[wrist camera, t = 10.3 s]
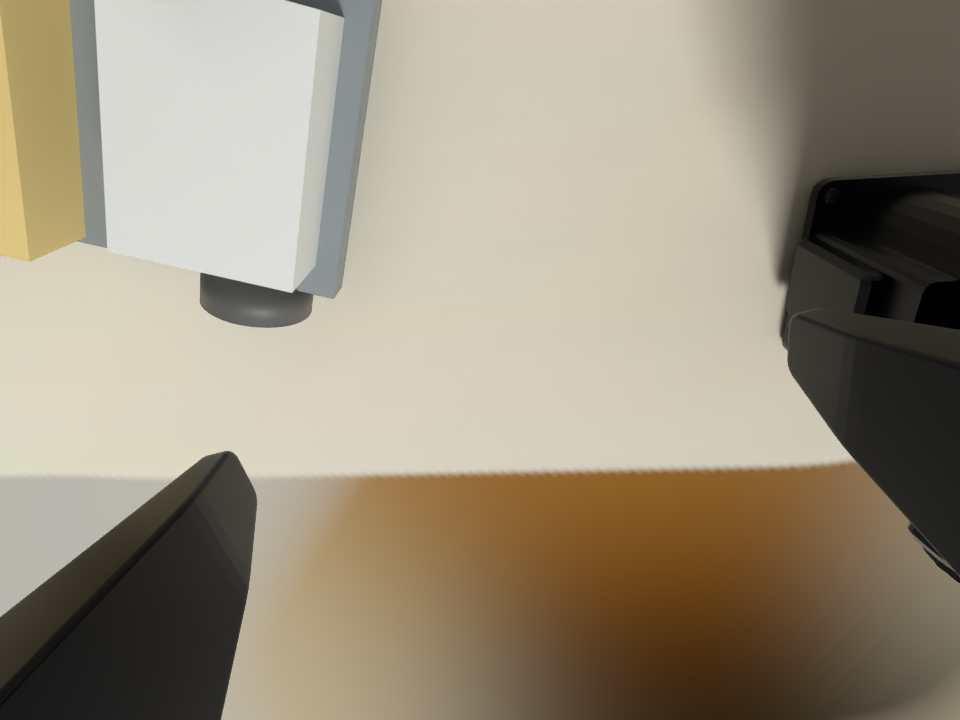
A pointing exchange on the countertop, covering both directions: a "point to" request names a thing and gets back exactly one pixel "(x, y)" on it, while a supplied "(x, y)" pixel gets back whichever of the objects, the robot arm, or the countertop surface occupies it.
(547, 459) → the countertop surface
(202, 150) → the toy chassis
